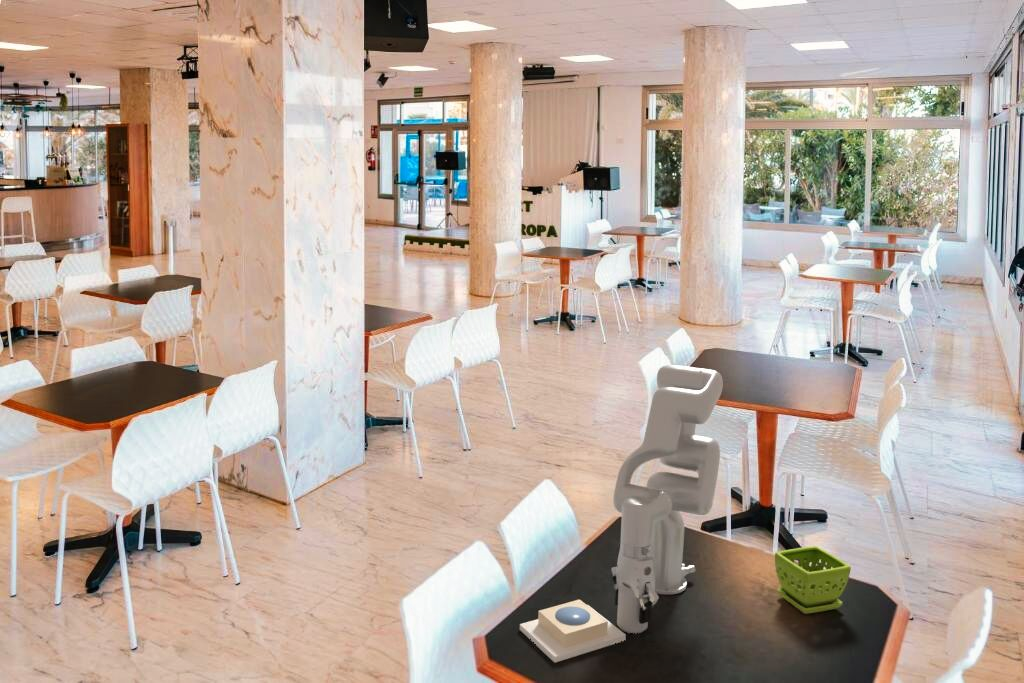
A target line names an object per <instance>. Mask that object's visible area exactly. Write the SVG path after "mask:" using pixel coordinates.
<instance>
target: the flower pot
mask: <svg viewBox="0 0 1024 683" xmlns="http://www.w3.org/2000/svg"><path fill="white" fill-rule="evenodd" d="M795 561H797V564H796V563H795ZM810 563H811V564H810ZM774 564H775V572H776V576H777V578H778V579H777V580H778V582H779V584H780V586H781V587H778V588H776V591H777V593H778V594H779V595H780V596H781V597H782V598H783V599H784V600H786V601H787V602H788V603H789V604H791V605H792V606H793V607H795V608H796V609H798V610H799V611H800V612H802V613H803V614H805V615H807V614H813V613H820V612H826V611H831V610H835V609H838V608H839V607H841V606H842V605H843V601H842V600H840V599H839V598H840V597H841V595H842V594H843V592H844V590H845V589H846V586H847V585H848V582H849V578H850V574H851V568H852V567H851V565H849V564H848V563H847V562H845V561H843V560H842V559H840V558H839V557H837V556H835V555H833V554H832V553H830V552H828V551H827V550H825V549H823V548H821V547H819V546H817V545H813V546H804V547H797V548H791V549H786V550H785V549H784V550H779V551H776V552H775V553H774ZM824 568H825V569H824Z"/></svg>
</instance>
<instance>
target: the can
mask: <svg viewBox="0 0 1024 683" xmlns="http://www.w3.org/2000/svg"><path fill="white" fill-rule="evenodd" d="M621 583H622V585H620V586H619V590H618V606H617V616H616V625H617V626H618V629H620V630H621V631H622V632H623V633H624V632H625V633H626V632H627V634H630V633H633V635H637V633H638V634H641V633H643V632H644V631H646V630H647V629H648V625H649V622H647V623H643V624H641V623H639V615H640V608H642V606H641V604H640V601H639V599H638V598H636V597H635V596H634V594H633V592H632V589H631V588H628V587H626V586H625V585H624V584H623V582H621ZM645 594H646V593H645V592H644V594H643V595H645ZM643 599H644V601H645V603H647V602H648V601H647V598H643ZM634 633H635V634H634Z"/></svg>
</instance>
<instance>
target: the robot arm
mask: <svg viewBox="0 0 1024 683" xmlns="http://www.w3.org/2000/svg"><path fill="white" fill-rule="evenodd" d="M656 384H657V387H658V389H657V390H655V392H654V394H653V396H652V400H651V403H650V408H649V413H648V417H647V423H646V427H645V432H644V438H643V441H642V443H641V445H640V446H639V447H637V448H636V449H634V450H633V451H632V452H631V453H630V454H629V455H628V456H627V457H626V458H625V460H624V461H623V463H622V464H621V466H620V468H619V469H618V474H617V477H616V478H617V479H616V483H615V487H614V492H613V500H612V502H613V507H614V509H615V510H616V511H617V512H618V513H621V524H620V525H621V526H620V543H619V544H620V547H619V552H618V557H617V563H616V566H614V567H611V574H612V581H613V583H614V585H613V588H614V590H615V594H614V595H615V598H614V605H615V606H616V607H618V590H619V586H620V585H622V583H621V582H623V584H624V585H625V586H626V587H628V588H631V589H632V592H633V594H634V596H635V597H636V598H638V599H639V601H640V604H641V606H642V608H640V615H639V623H641V624H643V623H647V622H648V623H649V622H651V621H652V613H653V612H652V609H653V608H654V606H656V605H657V602H658V600H659V598H660V597H659V595H668V596H670V595H676V594H680V593H682V592H683V591H686V589H687V587H688V586H687V585H688V582H687V579H686V577H685V576H687V575H688V574H692V573H695V572H696V567H695V565H692V564H691V565H688V566H686V565H685V563H683V557H684V553H683V552H684V540H685V539H684V538H685V521H684V519H683V516H682V515H681V513H686V514H691V515H697V516H706V515H708V514H709V513H710V512H711V510H712V508H713V504H714V499H715V493H716V487H717V479H718V474H719V468H720V460H721V449H720V444H719V443H718V441H717V440H715V439H714V438H712V437H708V436H702V435H696V428H697V427H696V426H697V425H703V424H705V423H706V422H707V421H708V420H709V419H710V416H711V415H712V413H713V410H714V408H715V407H716V405H717V403H718V401H719V399H720V397H721V394H722V392H723V387H724V380H723V377H722V374H721V373H720V372H719V371H717V370H715V369H709V368H701V367H693V366H686V365H677V364H676V365H675V364H674V365H673V364H668V365H663V366H661V367H660V368H659V369H658V371H657V374H656ZM656 459H659V462H660V463H661V464H662V465H663V466H666V467H669V468H672V469H673V468H674V469H678V470H684V471H690V472H693V473H694V472H695V473H697V476H698V477H697V476H692V475H691V476H690V475H685V474H680V473H676V472H675V473H674V472H671V471H670V472H669V471H657V472H654V473H653V474H651V475H650V476H649V477H648V479H647V482H646V486H643V485H638V484H632V483H631V481H632V477H633V475H634V473H635V472H636V470H637V469H638V468H639V467H641V466H642V465H644V464H645V463H647V462H650V461H652V460H656ZM680 512H681V513H680ZM644 592H645V593H646V594H645V595H643V594H644ZM643 598H647V601H648V602H647V603H645V601H644V599H643Z"/></svg>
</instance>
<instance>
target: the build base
mask: <svg viewBox="0 0 1024 683" xmlns="http://www.w3.org/2000/svg"><path fill="white" fill-rule="evenodd" d="M537 614H538V616H537V617H538V618H537V619H534V620H529V621H527V622H523V623H519V631H520V632H522V634H524V635H525V636H526V638H528V639H529V640H530V639H531V640H530V641H531V642H532V643H533V642H534V643H533V644H534V645H535V644H536V645H535V646H536V647H537V648H539V650H541V651H542V653H544V654H545V655H546V656H547V657H548V658H549V659H550V660H551V661H552V662H553V663H558V662H561V661H564V660H568V659H571V658H574V657H577V656H580V655H584V654H586V653H590V652H593V651H596V650H599V649H602V648H603V649H604V648H606V647H610V646H613V645H615V643H616V644H618V643H622V642H624V640H625V641H626V636H627V635H626V633H624V631H623V630H621V629H620V628H619V627H617V626H615V624H613V623H611V621H609V620H608V619H607V618H605V617H604V616H603V615H602V614H600V613H599V612H598V611H596V609H594V608H593V607H592V606H590V605H589V604H586V603H585V602H583V601H582V600H581V599H575V600H573V601H569V602H566V603H562V604H558V605H555V606H551V607H548V608H544V609H543V608H542V609H540V610H538V613H537ZM621 641H622V642H621Z"/></svg>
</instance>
